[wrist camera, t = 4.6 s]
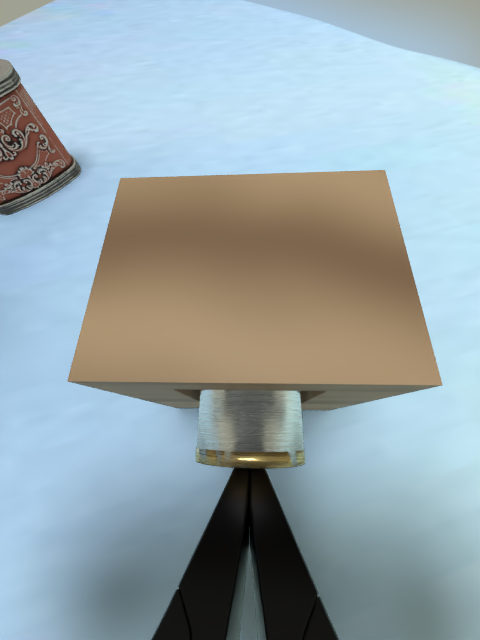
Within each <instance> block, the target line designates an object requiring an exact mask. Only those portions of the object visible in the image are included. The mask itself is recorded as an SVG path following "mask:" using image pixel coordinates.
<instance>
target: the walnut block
mask: <svg viewBox="0 0 480 640" xmlns="http://www.w3.org/2000/svg"><path fill="white" fill-rule="evenodd" d="M68 382H72V383H76V384H80V385H85V386H89V387H93V388H97V389H101V390H105V391H109V392H113V393H117V394H121V395H126V396H130V397H134V398H138V399H142V400H146V401H150V402H154V403H158V404H162V405H167V406H171V407H175V408H199V406H200V392H201V390H274V391H300V396H301V410H332V409H337V408H342V407H346V406H351V405H355V404H360V403H364V402H369V401H373V400H378V399H382V398H387V397H391V396H396V395H400V394H405V393H410V392H414V391H419V390H423V389H428V388H432V387H437V386H441V385H442V382H441V378H440V374H439V371H438V367H437V363H436V359H435V356H434V352H433V348H432V345H431V341H430V337H429V333H428V330H427V326H426V322H425V318H424V315H423V311H422V307H421V303H420V300H419V296H418V292H417V288H416V285H415V281H414V277H413V273H412V270H411V266H410V262H409V258H408V255H407V251H406V247H405V243H404V240H403V236H402V232H401V228H400V225H399V221H398V217H397V213H396V210H395V206H394V202H393V199H392V195H391V191H390V187H389V184H388V180H387V176H386V172H385V170H373V171H341V172H308V173H276V174H244V175H211V176H179V177H147V178H120V182H119V186H118V190H117V194H116V198H115V201H114V205H113V209H112V213H111V217H110V221H109V224H108V228H107V232H106V236H105V240H104V243H103V247H102V251H101V255H100V259H99V263H98V266H97V270H96V274H95V278H94V282H93V286H92V289H91V293H90V297H89V301H88V305H87V309H86V312H85V316H84V320H83V324H82V328H81V331H80V335H79V339H78V343H77V347H76V351H75V354H74V358H73V362H72V366H71V370H70V374H69V377H68Z"/></svg>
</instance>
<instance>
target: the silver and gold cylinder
mask: <svg viewBox="0 0 480 640" xmlns="http://www.w3.org/2000/svg"><path fill="white" fill-rule="evenodd" d="M196 462H198V463H201V464H206V465H212V466H220V467H232V468H287V467H295V466H301V465H304V464H305V456H304V441H303V426H302V411H301V396H300V391H274V390H201V392H200V406H199V420H198V434H197V447H196Z"/></svg>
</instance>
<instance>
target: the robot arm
mask: <svg viewBox="0 0 480 640" xmlns="http://www.w3.org/2000/svg"><path fill="white" fill-rule="evenodd" d="M249 531H250V555H251V566H252V577H253V589H254V600H255V611H256V622H257V633H258V640H339V638H338V636H337V634H336V632H335V630H334V627H333V625H332V623H331V621H330V619H329V616H328V614H327V612H326V609H325V607H324V605H323V602H322V600H321V598H320V597H319V596H318V591H317V589H316V586H315V584H314V582H313V579H312V577H311V575H310V572H309V570H308V568H307V565H306V563H305V561H304V558H303V556H302V554H301V551H300V549H299V547H298V544H297V542H296V540H295V537H294V535H293V533H292V530H291V528H290V526H289V523H288V521H287V519H286V516H285V514H284V511H283V509H282V507H281V504H280V502H279V500H278V497H277V495H276V493H275V490H274V488H273V486H272V483H271V481H270V479H269V476H268V474H267V472H266V469H265V468H234V469H233V471H232V474H231V476H230V478H229V480H228V482H227V484H226V486H225V488H224V490H223V492H222V495H221V497H220V499H219V501H218V503H217V505H216V507H215V509H214V511H213V514H212V516H211V518H210V520H209V522H208V524H207V526H206V528H205V530H204V532H203V535H202V537H201V539H200V541H199V543H198V545H197V547H196V549H195V551H194V553H193V556H192V558H191V560H190V562H189V564H188V566H187V568H186V570H185V572H184V574H183V577H182V579H181V581H180V583H179V585H178V588H179V589H176V591H175V593H174V595H173V597H172V599H171V601H170V603H169V606H168V608H167V610H166V612H165V614H164V616H163V618H162V620H161V622H160V624H159V626H158V628H157V629H156V631H155V633H154V635H153V637H152V639H151V640H239V636H240V627H241V618H242V608H243V599H244V590H245V581H246V571H247V562H248V552H249Z"/></svg>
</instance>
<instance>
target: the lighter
mask: <svg viewBox="0 0 480 640" xmlns="http://www.w3.org/2000/svg"><path fill="white" fill-rule="evenodd" d="M80 172H81V168H80V166H79V165H78V163H77V162H76V160H75V159H74V157H73V156H72V155H70V154H69V153H68V152H67V150H66V149H65V147H64V146H63V144H62V143H61V141H60V140H59V139H58V137H57V136H56V134H55V133H54V131H53V130H52V128H51V127H50V125H49V124H48V122H47V121H46V119H45V118H44V116H43V115H42V113H41V112H40V110H39V109H38V108H37V106H36V105H35V103H34V102H33V100H32V99H31V97H30V96H29V94H28V93H27V91H26V90H25V88H24V87H23V85H22V84H21V78H20V77H19V75H18V73H17V72H16V70H15V69H14V67H13V66H12V64H11V63H10V62H9V61H7V60H3V59H0V214H1V215H9V214H13V213H15V212H18V211H20V210H22V209H25V208H27V207H30V206H32V205H34V204H36V203H37V202H39V201H41V200H43V199H45V198H47V197H49V196H50V195H52V194H54V193H55V192H57V191H58V190H60V189H62V188H63V187H64V186H66V185H67V184H68V183H70V182H71V181H72V180H74V179H75V178H76V177H77V176H78V175H79V174H80Z"/></svg>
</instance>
